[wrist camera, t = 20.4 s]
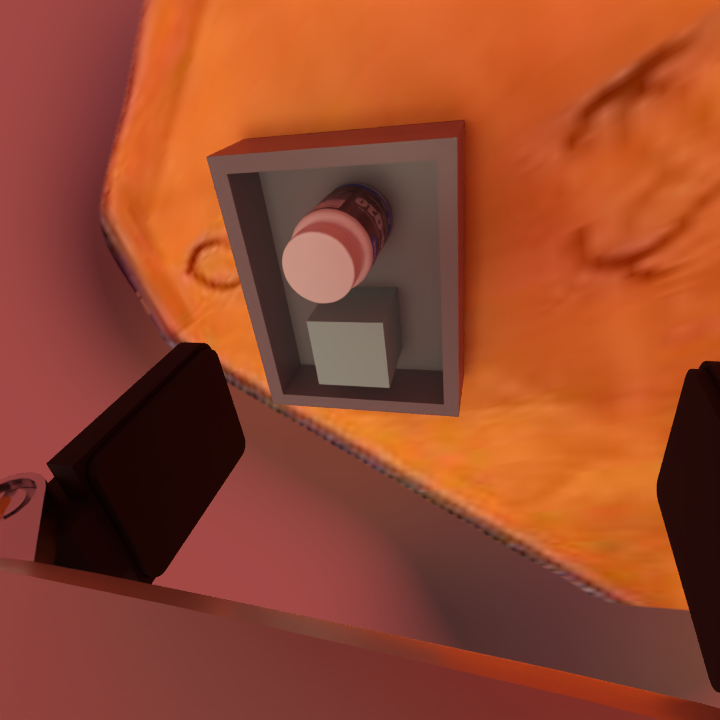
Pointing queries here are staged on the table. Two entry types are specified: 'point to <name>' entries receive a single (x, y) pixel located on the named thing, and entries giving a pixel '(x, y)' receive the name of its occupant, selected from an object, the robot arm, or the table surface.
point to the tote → (391, 268)
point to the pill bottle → (337, 243)
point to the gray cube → (357, 338)
